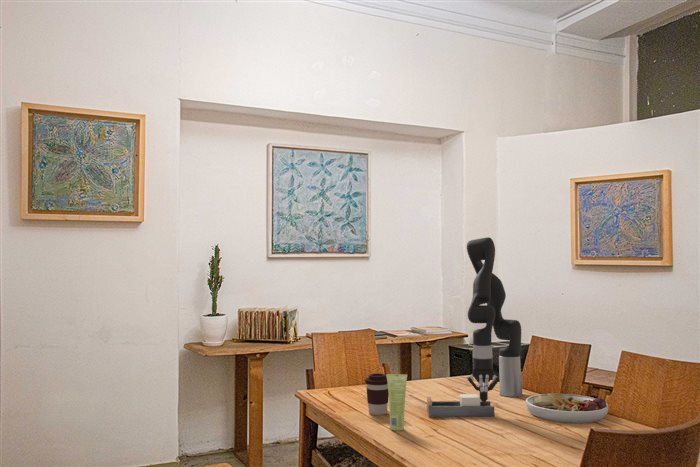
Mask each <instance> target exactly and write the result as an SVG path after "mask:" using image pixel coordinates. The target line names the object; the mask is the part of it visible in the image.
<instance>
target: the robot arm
mask: <svg viewBox="0 0 700 467" xmlns="http://www.w3.org/2000/svg"><path fill="white" fill-rule="evenodd" d="M466 252H467V254H468V258H469V260H470V262H471V265H472V266H473V269H474V271H475V274H476V276H475V277H474V280H473V284H472V298H471V303H470V306H469V308H468V309H467V310H468V311H467V319H468V320H469V322H470V323H472V324H486V325H485V326H484V327H482V328H479V329H475V330H474V331H472V345H473V346H472V372H471V374H470V375H469V376H467V377H466V380H467V381H468V382H469V383H470V385H471V386H472V387H473V388H474V390H475V391H477V392H478V393H479V397H480V401H482V402H486V401H488V399H489V398H488V392H489V391H492V390H493V389H494V388H495V387H496V385H497V384H498V383H499V395H501V396H504V397H510V398H512V397H514V398H515V397H523V374H522V372H521V368H522V367H521V351H522V325H521V323H520V321H519V320H517V319H504V317H503V315H502V314H503V313H502V309H503V306H504V304H505V301H506V291H505V287H504V285H503V282H502V280H501V279H500V278H499V277H498V276H497V275H496V274H494V273H493V270H494V263H495V260H496V259H495V256H496V245H495V242H494V240H493V239H492V238H491V237H481V238H476V239H471V240H468V241H467V242H466ZM483 261H484V262H483ZM492 331H493V332H494V334H495V336H496V338H497V339H499V340H502V341H509V343H508V345H507V346H504V347H501V348H499V350H498V369H499V370H498V371H499V372H498V373H499V374H498V375H499V376H497V375H496V374H495V371H494V368H493V367H494V364H493V363H494V362H493V357H494V356H493V355H494V354H493V348H492ZM474 380H475V381H476V382H477V384H478V386H477V385H476V383H475V382H474ZM490 381H491V383H490Z"/></svg>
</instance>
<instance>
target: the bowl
mask: <svg viewBox="0 0 700 467" xmlns="http://www.w3.org/2000/svg"><path fill="white" fill-rule="evenodd" d="M525 405H526V408H527V410H528V411H529V412H530V413H531V414H532V415H533V416H535V417H538V418H539V419H543V420H546V421H547V420H548V421H551V422H556V423H557V422H558V423H567V424H587V423H588V424H589V423H593V422H597V421H600V420H602V419H603V418H605V417H606V416H607V414H608V412H609V404H608V403H607V401H606V400H605V399H603V398H601V397H595V398H594V397H592V396H591V397H590V396H586V395H579V394H568V393H553V392H551V393H549V392H548V393H543V394H541V393H540V394H534V395H531V396H528V397H527V398H526V399H525Z"/></svg>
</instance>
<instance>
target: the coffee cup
mask: <svg viewBox="0 0 700 467" xmlns="http://www.w3.org/2000/svg"><path fill="white" fill-rule="evenodd" d="M364 383H365V384H366V399H367V405H368V413H369V414H370V415H374V416H383V415H386V414H387V413H388V405H389V393H388V383H387V377H386V374H385V373H379V372H378V373H370V374H368V376H367V377H366V378H364Z"/></svg>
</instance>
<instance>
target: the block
mask: <svg viewBox="0 0 700 467" xmlns="http://www.w3.org/2000/svg"><path fill="white" fill-rule="evenodd" d="M459 401H460V406H480V401H481V400H480V395H479V394H477V393H465V394H464V393H463V394H462V393H459Z"/></svg>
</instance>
